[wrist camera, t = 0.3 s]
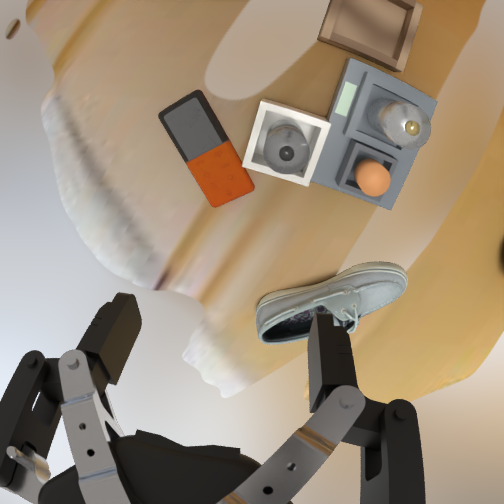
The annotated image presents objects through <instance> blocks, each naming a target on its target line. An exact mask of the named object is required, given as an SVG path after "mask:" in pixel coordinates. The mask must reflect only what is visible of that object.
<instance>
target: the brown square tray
mask: <svg viewBox="0 0 504 504" xmlns="http://www.w3.org/2000/svg"><path fill="white" fill-rule="evenodd" d="M422 9H423V5H422V4H420V3H418V2H416V1H415V0H330V3H329V6H328V9H327V12H326V15H325V17H324V20H323V23H322V26H321V29H320V32H319V35H318V38H317V40H319V41H322V42H325V43H328V44H331V45H333V46H336V47H339V48H341V49H344V50H346V51H349V52H351V53H354V54H356V55H359V56H361V57H363V58H365V59H368V60H370V61H372V62H374V63H377V64H379V65H381V66H383V67H385V68H387V69H389V70H391V71H393V72H403V71H404V68H405V65H406V62H407V59H408V56H409V53H410V50H411V47H412V43H413V40H414V37H415V34H416V30H417V27H418V24H419V20H420V17H421V13H422Z"/></svg>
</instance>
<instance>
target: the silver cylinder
mask: <svg viewBox="0 0 504 504" xmlns="http://www.w3.org/2000/svg"><path fill="white" fill-rule="evenodd" d="M367 120H368V122H369V124H370V126H371V127H372V128H373V129H374V130H375V131H377V132H379V133H380V134H382V135H384V136H385V137H387V138H388V139H390V140H391V141H393V142H394V143H396V144H398V145H399V146H401V147H402V148H405V149H408V150H414V149H418V148H420V147H422V146H423V145H424V144H425V143H426V142H427V140H428V138H429V136H430V132H431V124H430V120H429V118H428V116H427V114H426V113H425V112H424V111H423V110H422V109H421V108H419V107H418V106H415V105H411V104H408V103H404V102H400V101H396V100H392V99H388V98H378V99H375V100H374V101H372V102H371V103H370V105H369V107H368V109H367Z"/></svg>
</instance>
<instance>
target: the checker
mask: <svg viewBox="0 0 504 504" xmlns="http://www.w3.org/2000/svg"><path fill="white" fill-rule="evenodd" d="M378 98H388V99H392V100H396V101H400V102H404V103H408V104H411V105H415V106H418V107H419V108H421V109H422V110H423V111H424V112H425V113H426V114H427V116H428V118H429V120H431V118H432V115H433V113H434V110H435V107H436V105H437V101H436V100H434V99H432V98H431V97H429V96H427V95H426V94H424V93H422V92H420V91H419V90H417V89H415V88H413V87H411V86H410V85H408V84H406V83H404V82H402V81H400V80H398V79H396V78H394V77H392V76H390V75H388V74H386V73H384V72H382V71H380V70H378V69H376V68H374V67H371V66H369V65H367V64H365V63H362V62H360V61H358V60H355V59H353V58H348V59H347V60H346V63H345V66H344V69H343V72H342V75H341V78H340V80H339V83H338V86H337V89H336V92H335V95H334V98H333V101H332V103H331V106H330V109H329V112H328V115H327V117H326V119H327V120H328V121H329V122H330V123H331V126H330V129H329V132H328V135H327V137H326V140H325V143H324V145H323V148H322V151H321V154H320V156H319V159H318V162H317V164H316V167H315V170H314V172H313V175H312V177H311V180H310V181H311V182H314V183H317V184H320V185H323V186H326V187H329V188H332V189H335V190H338V191H340V192H343V193H346V194H349V195H351V196H354V197H357V198H360V199H362V200H365V201H368V202H370V203H373V204H375V205H378V206H380V207H383V208H386V209H388V210H391V209H392V207H393V205H394V203H395V201H396V199H397V197H398V195H399V192H400V190H401V188H402V186H403V184H404V182H405V180H406V178H407V175H408V173H409V171H410V169H411V166H412V164H413V162H414V160H415V157H416V155H417V153H418V150H419V148H418V149H414V150H408V149H405V148H402V147H401V146H399V145H398V144H396V143H394V142H393V141H391V140H390V139H388V138H387V137H385V136H384V135H382V134H380V133H379V132H377V131H375V130H374V129H373V128H372V127H371V126H370V124H369V122H368V120H367V109H368V107H369V105H370V103H371V102H372V101H374V100H375V99H378ZM365 159H374V160H376V161H378V162H379V163H380V164H381V165H382V166H383V167H384V168H385V169H387V171H388V172H389V174H390V178H391V181H390V186H389V188H388V189H387V191H386V192H385V193H383V194H382V195H380V196H375V197H374V196H369V195H367V194H365V193H364V192H363V191H362V190H361V188H360V187H359V185H358V183H357V182H356V180H355V177H354V172H355V168H356V166H357V165H358V164H359V163H360V162H361V161H363V160H365Z"/></svg>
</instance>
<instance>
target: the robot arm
mask: <svg viewBox="0 0 504 504" xmlns="http://www.w3.org/2000/svg"><path fill="white" fill-rule="evenodd" d="M141 325H142V319H141V315H140V312H139V308H138V305H137V301H136V298H135V296H134V295H133V294H126V293H120V292H119V293H117V294H116V296H115V297H114V299H113V301H112V302H107V303H106V304H105V305H103V306H102V307H101V308H100V309H99V310H98V312H97V314H96V315H95V318H94V319H93V321H92V322H91V325H89V327H88V329H87V330H86V332H85V334H84V336H83V338H82V339H81V341H80V343H79V345H78V346H77V348H76V349H75V350H70V351H68V352H66V353H64V354H63V355H62V356H61V358H45V357H44V355H43V354H42V353H41V352H40V351H37V350H33V351H30V352H28V353H26V354H25V355H24V356H23V358H22V359H21V361H20V363H19V365H18V367H17V369H16V371H15V373H14V375H13V377H12V379H11V380H10V382H9V384H8V386H7V389H6V391H5V393H4V395H3V397H2V399H1V401H0V487H2V488H4V489H5V490H8V491H9V492H12V493H14V494H18V495H19V496H21V497H22V498H24V499H26V500H28V501H29V502H31V503H33V504H293V503H292V502H291V501H290V500H291V499H292V498H293V497H294V496H295V495H296V494H297V493H298V492H299V491H300V489H301V488H302V487H303V486H304V485H305V484H306V483H307V482H308V481H309V479H310V478H311V477H312V476H313V475H314V474H315V473H316V471H317V470H318V469H319V468H320V467H321V465H322V464H323V463H324V462H325V461H326V459H327V458H328V457H329V456H330V455H331V453H332V452H333V451H334V449H335V448H336V446H337V445H338V444H339V442H340V441H342V442H346V443H349V444H353V445H357V446H361V493H360V494H361V496H360V504H426V501H425V482H424V468H423V458H422V449H421V440H420V433H419V426H418V419H417V413H416V410H415V408H414V406H413V405H412V404H411V403H410V402H408V401H406V400H403V399H396V400H393V401H391V402H390V403H389V404H385V403H381V402H377V401H373V400H370V399H368V398H367V397H365V396H364V395H363V393H362V392H361V391H360V390H359V388H358V385H357V379H356V372H355V366H354V360H353V356H352V348H351V342H350V337H349V334H348V333H347V331H346V330H345V328H344V327H343V326H334V320H333V315H332V313H315V314H314V317H313V321H312V325H311V329H310V333H309V338H308V369H309V400H310V413H314V414H313V415H312V417H311V418H310V419H309V420H308V421H307V422H306V423H305V425H304V426H303V427H301V428H299V429H298V430H296V432H294V433H293V434H292V436H291V437H290V438H289V439H288V440H287V441H286V442H285V443H284V444H283V445H282V446H281V447H280V448H279V449H278V450H277V451H276V452H275V453H274V454H273V455H272V456H271V457H270V458H269V459H268V460H267V461H266V462H265V463H264V464H263V465H261V464H260V463H258V462H257V461H255V460H254V459H252V458H250V457H248V456H246V455H243V454H240V448H233V447H225V446H217V445H207V446H190V447H186V446H182V445H180V444H178V443H176V442H174V441H172V440H169V439H167V438H165V437H163V436H161V435H158V434H153V433H149V432H145V431H141V430H137V431H136V434H135V435H128V436H125V435H124V433H123V431H122V430H121V428H120V426H119V424H118V422H117V419H116V417H115V414H114V411H113V408H112V405H111V402H110V399H109V396H108V393H107V390H106V386H107V384H108V383H110V384H114V385H116V384H117V382H118V380H119V377H120V375H121V373H122V370H123V368H124V366H125V363H126V361H127V359H128V357H129V354H130V352H131V350H132V347H133V345H134V343H135V341H136V338H137V336H138V334H139V332H140V329H141ZM39 392H40V394H39V397H38V399H37V401H36V404H35V406H34V408H33V411H32V407H33V404H34V402H35V399H36V397H37V395H38V393H39ZM61 415H62V416H63V421H64V425H65V429H66V433H67V437H68V441H69V445H70V448H71V451H72V455H73V459H74V462H75V465H74V466H72V467H70V468H69V469H67V470H65V471H64V472H62V473H60V474H59V475H57V476H55V477H53V478H52V479H50V480H49V478H50V476H51V473H50V471H49V466H48V463H47V461H46V459H47V456H48V452H49V450H50V446H51V443H52V440H53V438H54V435H55V432H56V429H57V426H58V423H59V420H60V418H61Z"/></svg>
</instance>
